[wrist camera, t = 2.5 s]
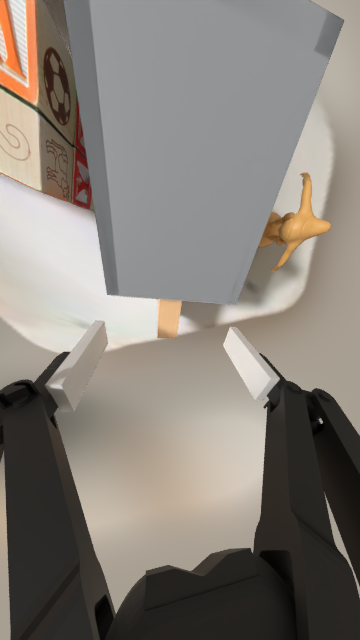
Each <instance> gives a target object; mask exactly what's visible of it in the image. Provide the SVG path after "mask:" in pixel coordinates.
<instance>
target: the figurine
mask: <svg viewBox="0 0 360 640" xmlns="http://www.w3.org/2000/svg"><path fill="white" fill-rule="evenodd" d="M300 175H303V176H302V177H303V190H302V197H301V206H300V209H299V211H298V213H297V214H296V215H295V214H294V213H293V212H291V213H288V214H286V215H285V216H284V217H283V218H281V217H280V216H279V215H278V214H277V213H274V212H271V214H270V217H269V219H268V222H267V224H266V227H265V230H264V232H263V235H262V238H261V240H260V243H259V245H258V247H263V246H267V245H269V244H271V243H273V242H274V241H276V243H277V244H278V245H283V244H285V243H286V244H287V248H286V250H285V252H284V253H283V255H282V257H281V259H280V261H279V263H278V264H277V265H276V266H275V268H274V269H273V270H271V271H276V270H278V269H279V268H280V267H281V266H282V265H283V264H284V263H285V262H286V261H287V259H288V258H289V257H290V255H291V253H292V252H293V251H294V250H295V249H296V248H297V247H298V246H299V245H300V244H301V243H302V242H303V241H304V240H306V239H309V238H311V237H314V236H318V235H320V234H323V233H325V232H327V231H328V230H329V229H330V228H331V225H330V223H329V222H327V221H324V220H321V219H318V218H316V217H315V216H314V214H313V212H312V206H311V195H312V184H311V180H310V175H309V174H308V173H302V174H300Z"/></svg>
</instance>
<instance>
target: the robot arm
mask: <svg viewBox="0 0 360 640" xmlns="http://www.w3.org/2000/svg"><path fill="white" fill-rule="evenodd" d="M107 344H108V340H107V334H106V329H105V323H104V321H95V322H94V323H93V324H92V326H91V327H90V328H89V330H88V331H87V332H86V333H85V335H84V336H83V337H82V338H81V340H80V341H79V342H78V344H77V345H76V346H75V347H74V349H73V350H72V351H71V352H63V353H61V354H60V355H58V356H57V357H56V358H55V359H54V360H53V361H52V363H51V364H50V365H49V366H48V367H47V369H45V371H44V372H43V373H42V374H41V375H40V376H39V377H38V379H37V380H36V381H35V382H34V383H33V382H32V381H31V380H20V381H17V382H14V383H12V384H10V385H8V386H6V387H4V388H3V389H2V390H0V461H1V458H2V455H3V451H4V458H5V487H6V513H7V514H6V515H7V542H8V568H9V569H8V570H9V595H10V596H9V597H10V624H11V640H360V598H359V594H358V590H357V585H356V582H355V578H354V575H353V572H352V569H351V567H350V566H349V564H348V562H347V560H346V558H345V557H344V556H343V555H342V554H341V553H340V552H339V550H338V549H337V547H336V545H335V542H334V539H333V534H332V529H331V524H330V519H329V514H328V509H327V504H326V499H325V495H326V498H327V500H328V503H329V506H330V508H331V511H332V513H333V516H334V519H335V522H336V524H337V527H338V530H339V532H340V535H341V537H342V540H343V543H344V546H345V548H346V551H347V554H348V556H349V559H350V561H351V564H352V567H353V570H354V572H355V574H356V578H357V580H358V583H359V586H360V436H359V434H358V433H357V431H356V430H355V429H354V427H353V426H352V424H351V422H350V421H349V420H348V418H347V417H346V415H345V414H344V412H343V411H342V410H341V408H340V406H339V405H338V403H337V402H336V400H335V399H334V398H333V397H332V396H331V395H330V394H328V393H327V392H325V391H323V390H321V389H317V388H316V389H314V390H312V392H309V391H305V390H302V389H301V388H300V387H299V386H298V385H296V384H295V383H293V382H290V381H286V380H285V378H284V377H283V376H282V375H281V374H280V373H279V372H278V370H276V368H275V367H273V365H272V364H271V363H270V362H269V361H268V359H267V358H266V357H265V356H263V355H262V354H261V353H258V352H257V351H256V350H255V349H254V347H253V346H252V345H251V344H250V343H249V342H248V340H247V339H246V338H245V337H244V336H243V334H242V333H241V332H240V331H239V330H238V329H237V327H230V329H229V331H228V334H227V337H226V339H225V342H224V344H223V346H224V348H225V350H226V352H227V353H228V355H229V357H230V358H231V360H232V362H233V364H234V365H235V367H236V369H237V370H238V372H239V374H240V376H241V377H242V379H243V381H244V383H245V384H246V386H247V388H248V389H249V391H250V393H251V395H252V396H253V398H254V400H255V401H257V400H264V399H265V397H266V396H267V397H268V398H269V401H268V402H267V403H266V404H265V406H264V408H266V407H267V422H266V438H265V454H264V455H265V457H264V471H263V472H264V473H263V487H262V504H261V516H260V521H259V523H258V526H257V528H256V532H255V538H254V551H253V553H252V552H251V548H240V549H228V550H223V551H220V552H216V553H212V554H210V555H209V556H208V557H207V558H206V559H205V560H203V561H202V562H201V563H200V564H199V565H198V566H197V567H196V568H195V569H194V570H192V571H188V570H184V569H181V568H177V567H173V566H170V565H166V566H162V567H159V568H155V569H151V570H147V571H146V574H145V575H144V576H143V577H142V578H141V579H139V581H138V582H137V583H136V584H135V585H134V586H133V587H132V589H131V590H130V591H129V593H128V594H127V596H126V597H125V599H124V601H123V602H122V604H121V606H120V608H119V610H118V612H117V614H116V613H115V610H114V606H113V604H112V600H111V596H110V593H109V590H108V586H107V583H106V580H105V577H104V574H103V571H102V568H101V565H100V563H99V561H98V559H97V557H96V554H95V551H94V548H93V544H92V541H91V538H90V534H89V531H88V527H87V524H86V520H85V517H84V513H83V510H82V507H81V503H80V500H79V496H78V493H77V489H76V486H75V483H74V480H73V476H72V472H71V469H70V466H69V462H68V459H67V455H66V452H65V448H64V445H63V442H62V438H61V435H60V432H59V428H58V424H57V421H56V418H55V415H54V412H55V411H56V409H57V408H59V410H60V412H68V411H69V412H70V411H75V409H76V406H77V405H78V403H79V401H80V399H81V397H82V394H83V393H84V390H85V388H86V386H87V384H88V382H89V380H90V378H91V376H92V374H93V372H94V370H95V368H96V366H97V364H98V362H99V360H100V358H101V356H102V354H103V352H104V350H105V348H106V346H107ZM320 418H321V419H322V421H323V423H322V424H321V423H320V422H319V419H320ZM324 492H325V494H324Z"/></svg>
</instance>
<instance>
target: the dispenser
mask: <svg viewBox="0 0 360 640" xmlns="http://www.w3.org/2000/svg"><path fill="white" fill-rule="evenodd" d="M63 2H64V9H65V15H66V22H67V29H68V36H69V42H70V49H71V56H72V62H73V69H74V76H75V83H76V89H77V96H78V103H79V109H80V116H81V123H82V129H83V136H84V143H85V150H86V156H87V163H88V170H89V176H90V183H91V190H92V197H93V203H94V210H95V217H96V223H97V230H98V237H99V243H100V250H101V257H102V264H103V270H104V277H105V284H106V290H107V295H111V296H123V297H136V298H150V299H163V300H176V301H190V302H203V303H217V304H236V303H237V300H238V298H239V295H240V293H241V290H242V287H243V285H244V282H245V279H246V277H247V274H248V272H249V269H250V266H251V264H252V261H253V259H254V256H255V253H256V251H257V248H258V245H259V243H260V240H261V238H262V235H263V232H264V230H265V227H266V224H267V222H268V219H269V217H270V214H271V211H272V209H273V206H274V203H275V201H276V198H277V196H278V193H279V190H280V188H281V185H282V183H283V180H284V177H285V175H286V172H287V169H288V167H289V164H290V162H291V159H292V156H293V154H294V151H295V148H296V146H297V143H298V141H299V138H300V135H301V133H302V130H303V127H304V125H305V122H306V120H307V117H308V114H309V112H310V109H311V107H312V104H313V101H314V99H315V96H316V93H317V91H318V88H319V86H320V83H321V80H322V78H323V75H324V72H325V70H326V67H327V65H328V62H329V59H330V57H331V54H332V51H333V49H334V46H335V44H336V41H337V38H338V36H339V33H340V31H341V28H342V25H343V23H344V20H343V19H341V18H340V17H338V16H336V15H334V14H333V13H331V12H329V11H328V10H326V9H324V8H322V7H321V6H319V5H317V4H315V3H314V2H312V1H310V0H63Z"/></svg>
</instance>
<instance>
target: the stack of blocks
mask: <svg viewBox="0 0 360 640" xmlns="http://www.w3.org/2000/svg"><path fill="white" fill-rule="evenodd" d="M0 173H2V174H4V175H6V176H8V177H10V178H12V179H14V180H16V181H18V182H20V183H22V184H25V185H27V186H29V187H31V188H33V189H35V190H37V191H40V192H42V193H44V194H47V195H50V196H53V197H56V198H58V199H61V200H64V201H67V202H70V203H72V204H75V205H77V206H80V207H82V208H86V209H88V210H93V211H95V210H94V203H93V197H92V190H91V183H90V176H89V170H88V163H87V156H86V150H85V143H84V136H83V129H82V123H81V116H80V109H79V103H78V96H77V89H76V83H75V76H74V69H73V62H72V59H71V57H70V54H69V52H68V50H67V48H66V46H65V44H64V42H63V39H62V37H61V35H60V33H59V31H58V29H57V27H56V25H55V23H54V21H53V19H52V16H51V14H50V12H49V10H48V8H47V6H46V4H45V2H44V0H0Z"/></svg>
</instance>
